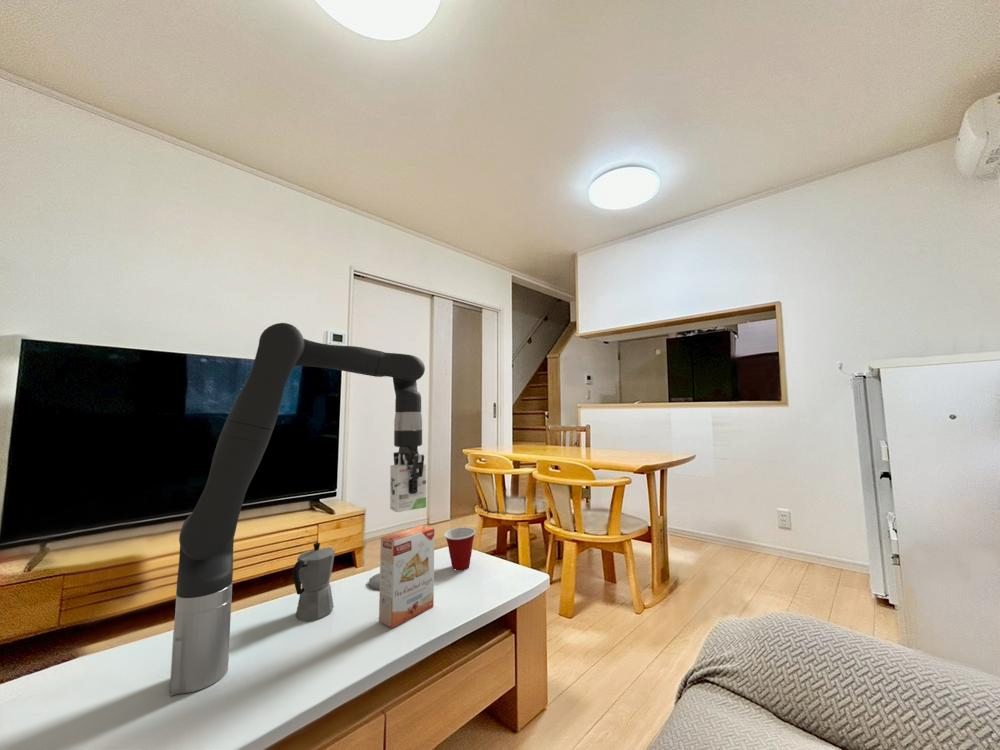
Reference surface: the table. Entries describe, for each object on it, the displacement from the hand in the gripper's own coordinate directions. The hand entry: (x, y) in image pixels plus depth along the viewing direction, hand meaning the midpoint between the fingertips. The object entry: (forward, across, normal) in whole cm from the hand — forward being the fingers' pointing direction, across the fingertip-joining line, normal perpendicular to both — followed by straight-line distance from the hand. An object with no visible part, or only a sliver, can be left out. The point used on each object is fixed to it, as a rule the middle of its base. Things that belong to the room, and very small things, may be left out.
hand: (408, 491), depth 105 cm
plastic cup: (+32, -17, +28) cm, 46 cm away
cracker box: (+32, 0, 0) cm, 32 cm away
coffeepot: (+32, -17, -19) cm, 41 cm away
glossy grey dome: (+31, -23, +5) cm, 39 cm away
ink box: (+5, 0, 0) cm, 5 cm away
